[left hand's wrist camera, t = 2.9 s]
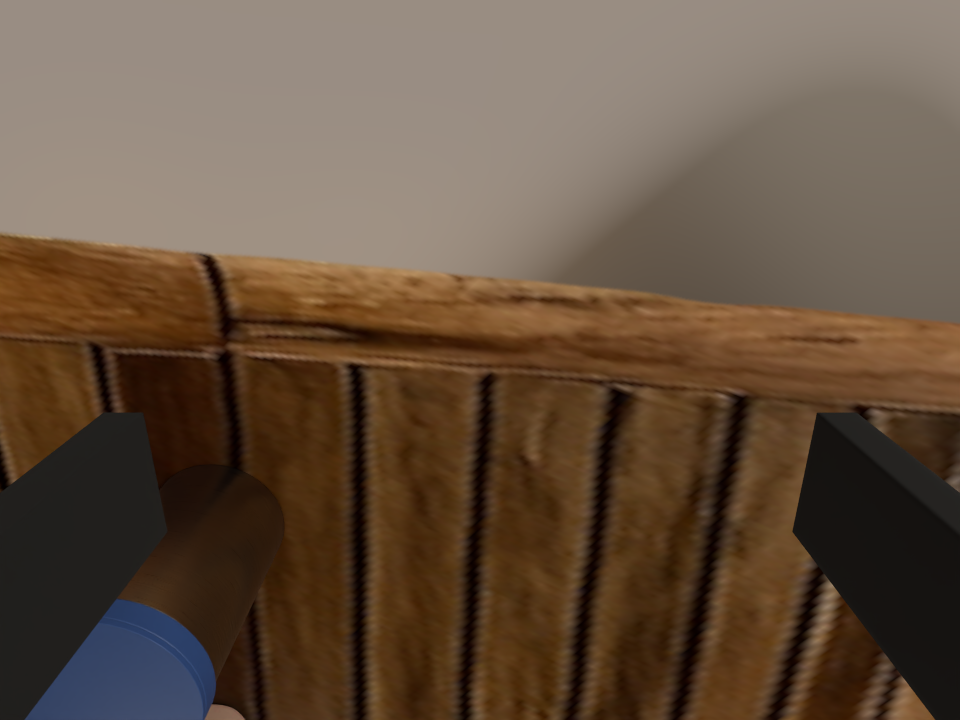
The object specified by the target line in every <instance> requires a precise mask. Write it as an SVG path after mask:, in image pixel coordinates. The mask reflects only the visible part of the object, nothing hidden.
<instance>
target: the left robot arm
mask: <svg viewBox="0 0 960 720" xmlns="http://www.w3.org/2000/svg"><path fill="white" fill-rule="evenodd" d="M166 533H167V527H166V522H165V517H164V512H163V507H162V503H161V498H160V493H159V488H158V483H157V478H156V474H155V469H154V464H153V459H152V454H151V449H150V445H149V440H148V435H147V430H146V425H145V420H144V415H143V413H103V414H101V415H100V416H99V417H98V418H96V419H95V420H94V421H92V422H91V423H90V424H89V425H87V426H86V427H85V428H83V429H82V430H81V431H79V432H78V433H77V434H76V435H74V436H73V437H72V438H70V439H69V440H68V441H67V442H65V443H64V444H63V445H61V446H60V447H59V448H58V449H56V450H55V451H54V452H52V453H51V454H50V455H49V456H47V457H46V458H45V459H43V460H42V461H41V462H40V463H38V464H37V465H36V466H34V467H33V468H32V469H31V470H29V471H28V472H27V473H25V474H24V475H23V476H21V477H20V478H19V479H18V480H16V481H15V482H14V483H12V484H11V485H10V486H9V487H7V488H6V489H5V490H3V491H2V492H1V493H0V720H25V719H26V717H27V716H28V715H29V713H30V712H31V711H32V709H33V708H34V707H35V705H36V704H37V703H38V701H39V700H40V699H41V698H42V696H43V695H44V694H45V692H46V691H47V690H48V688H49V687H50V686H51V684H52V683H53V682H54V680H55V679H56V678H57V677H58V675H59V674H60V673H61V671H62V670H63V669H64V667H65V666H66V665H67V663H68V662H69V661H70V659H71V658H72V657H73V655H74V654H75V653H76V652H77V650H78V649H79V648H80V646H81V645H82V644H83V642H84V641H85V640H86V638H87V637H88V636H89V634H90V633H91V632H92V630H93V629H94V628H95V627H96V625H97V624H98V623H99V621H100V620H101V619H102V617H103V616H104V615H105V613H106V612H107V611H108V609H109V608H110V607H111V605H112V604H113V603H114V602H115V600H116V599H117V598H118V596H119V595H120V594H121V592H122V591H123V590H124V588H125V587H126V586H127V584H128V583H129V582H130V580H131V579H132V578H133V577H134V575H135V574H136V573H137V571H138V570H139V569H140V567H141V566H142V565H143V563H144V562H145V561H146V559H147V558H148V557H149V555H150V554H151V553H152V552H153V550H154V549H155V548H156V546H157V545H158V544H159V542H160V541H161V540H162V538H163V537H164V536H165V534H166ZM793 533H794V534H795V536H796V537H797V538H798V540H799V541H800V542H801V544H802V545H803V546H804V548H805V549H806V550H807V552H808V553H809V554H810V555H811V557H812V558H813V559H814V561H815V562H816V563H817V565H818V566H819V567H820V569H821V570H822V571H823V573H824V574H825V575H826V577H827V578H828V579H829V580H830V582H831V583H832V584H833V586H834V587H835V588H836V590H837V591H838V592H839V594H840V595H841V596H842V598H843V599H844V600H845V602H846V603H847V604H848V605H849V607H850V608H851V609H852V611H853V612H854V613H855V615H856V616H857V617H858V619H859V620H860V621H861V623H862V624H863V625H864V627H865V628H866V629H867V630H868V632H869V633H870V634H871V636H872V637H873V638H874V640H875V641H876V642H877V644H878V645H879V646H880V648H881V649H882V650H883V652H884V653H885V654H886V655H887V657H888V658H889V659H890V661H891V662H892V663H893V665H894V666H895V667H896V669H897V670H898V671H899V673H900V674H901V675H902V677H903V678H904V679H905V680H906V682H907V683H908V684H909V686H910V687H911V688H912V690H913V691H914V692H915V694H916V695H917V696H918V698H919V699H920V700H921V701H922V703H923V704H924V705H925V707H926V708H927V709H928V711H929V712H930V713H931V715H932V716H933V717H934V719H935V720H960V493H959V492H958V491H957V490H955V489H954V488H953V487H951V486H950V485H949V484H948V483H946V482H945V481H944V480H942V479H941V478H940V477H939V476H937V475H936V474H935V473H933V472H932V471H931V470H929V469H928V468H927V467H926V466H924V465H923V464H922V463H920V462H919V461H918V460H917V459H915V458H914V457H913V456H911V455H910V454H909V453H908V452H906V451H905V450H904V449H902V448H901V447H900V446H899V445H897V444H896V443H895V442H893V441H892V440H891V439H890V438H888V437H887V436H886V435H884V434H883V433H882V432H881V431H879V430H878V429H877V428H875V427H874V426H873V425H871V424H870V423H869V422H868V421H866V420H865V419H864V418H862V417H861V416H860V415H859V414H857V413H817V415H816V420H815V425H814V430H813V435H812V440H811V445H810V449H809V454H808V459H807V464H806V469H805V474H804V478H803V483H802V488H801V493H800V498H799V503H798V507H797V512H796V517H795V522H794V527H793Z"/></svg>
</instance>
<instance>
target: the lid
mask: <svg viewBox="0 0 960 720" xmlns="http://www.w3.org/2000/svg"><path fill="white" fill-rule="evenodd" d="M215 689H216V680H215V672H214V668H213V664H212V662H211V660H210V658H209V655H208V654H207V652H206V651H205V649H204V647H203V646H202V645H201V643H200V642H199V641H198V640H197V638H196V637H195V636H194V635H193V634H192V633H191V632H190V631H189V630H188V629H187V628H185V627H184V626H183V625H181V624H180V623H179V622H177V621H176V620H174V619H173V618H171V617H169V616H168V615H166V614H164V613H162V612H160V611H158V610H156V609H154V608H151V607H148V606H146V605H143V604H140V603H136V602H132V601H128V600H122V599H116V600H115V602H114V603H113V604H112V605H111V607H110V608H109V609H108V611H107V612H106V613H105V615H104V616H103V617H102V619H101V620H100V621H99V623H98V624H97V625H96V627H95V628H94V629H93V630H92V632H91V633H90V634H89V636H88V637H87V638H86V640H85V641H84V642H83V644H82V645H81V646H80V648H79V649H78V650H77V652H76V653H75V654H74V655H73V657H72V658H71V659H70V661H69V662H68V663H67V665H66V666H65V667H64V669H63V670H62V671H61V673H60V674H59V675H58V677H57V678H56V679H55V680H54V682H53V683H52V684H51V686H50V687H49V688H48V690H47V691H46V692H45V694H44V695H43V696H42V698H41V699H40V700H39V701H38V703H37V704H36V705H35V707H34V708H33V709H32V711H31V712H30V713H29V715H28V716H27V717H26V719H25V720H205V718H206V716H207V713H208V711H209V709H210V707H211V705H212V703H213V699H214V696H215Z"/></svg>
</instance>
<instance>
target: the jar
mask: <svg viewBox="0 0 960 720" xmlns="http://www.w3.org/2000/svg"><path fill="white" fill-rule="evenodd" d="M159 493H160V498H161V503H162V507H163V512H164V517H165V522H166V527H167V533H166V534H165V536H164V537H163V538H162V540H161V541H160V542H159V544H158V545H157V546H156V548H155V549H154V550H153V552H152V553H151V554H150V555H149V557H148V558H147V559H146V561H145V562H144V563H143V565H142V566H141V567H140V569H139V570H138V571H137V573H136V574H135V575H134V577H133V578H132V579H131V580H130V582H129V583H128V584H127V586H126V587H125V588H124V590H123V591H122V592H121V594H120V595H119V596H118V598H117V599H122V600H128V601H132V602H136V603H140V604H143V605H146V606H148V607H151V608H154V609H156V610H158V611H160V612H162V613H164V614H166V615H168V616H169V617H171V618H173V619H174V620H176V621H177V622H179V623H180V624H181V625H183V626H184V627H185V628H187V629H188V630H189V631H190V632H191V633H192V634H193V635H194V636H195V637H196V638H197V640H198V641H199V642H200V643H201V645H202V646H203V647H204V649H205V651H206V652H207V654H208V655H209V658H210V660H211V662H212V664H213V668H214V672H215V680H217V678H218V676H219V674H220V671H221V669H222V667H223V665H224V663H225V661H226V659H227V657H228V654H229V652H230V650H231V648H232V646H233V644H234V642H235V640H236V638H237V635H238V633H239V631H240V629H241V627H242V625H243V623H244V621H245V618H246V616H247V614H248V612H249V610H250V608H251V606H252V604H253V601H254V599H255V597H256V595H257V593H258V591H259V589H260V587H261V584H262V582H263V580H264V578H265V576H266V574H267V572H268V570H269V567H270V565H271V563H272V561H273V559H274V557H275V555H276V553H277V551H278V548H279V546H280V544H281V542H282V538H283V534H284V519H283V514H282V511H281V508H280V506H279V504H278V502H277V500H276V499H275V497H274V496H273V494H272V493H271V492H270V491H269V490H268V489H267V487H265V486H264V485H263V484H262V483H261V482H260V481H258V480H257V479H255V478H254V477H252V476H251V475H249V474H247V473H245V472H243V471H240V470H238V469H235V468H231V467H227V466H222V465H200V466H194V467H191V468H187V469H185V470H183V471H180V472H178V473H177V474H175V475H174V476H172V477H171V478H170V479H169V480H168V481H167V482H166V483H165V484H164V485H163V486H162V487H161V489H160V490H159Z"/></svg>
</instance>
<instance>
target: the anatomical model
mask: <svg viewBox="0 0 960 720" xmlns="http://www.w3.org/2000/svg"><path fill="white" fill-rule="evenodd" d="M205 720H245V719H244V718H243V716H242V715H241V714H240V713H239V712H238V711H236V710H235V709H233V708H231V707H228V706H224V705H217V704H212V705H211V707H210V709H209V711H208V713H207V716H206V718H205Z"/></svg>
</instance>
